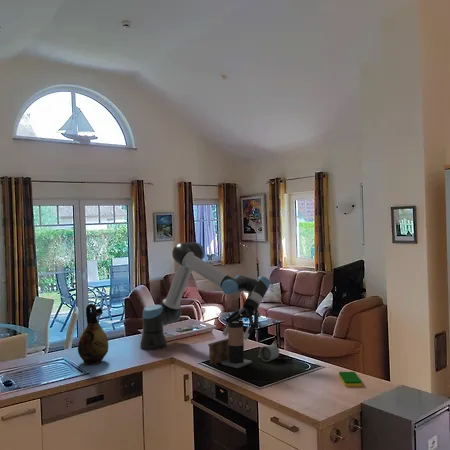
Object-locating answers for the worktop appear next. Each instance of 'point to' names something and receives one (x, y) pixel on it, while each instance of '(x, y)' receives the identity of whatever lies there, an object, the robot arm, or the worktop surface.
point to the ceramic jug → (93, 338)
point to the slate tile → (236, 363)
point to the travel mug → (236, 341)
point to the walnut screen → (219, 351)
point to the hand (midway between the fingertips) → (234, 336)
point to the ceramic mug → (269, 353)
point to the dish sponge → (350, 379)
